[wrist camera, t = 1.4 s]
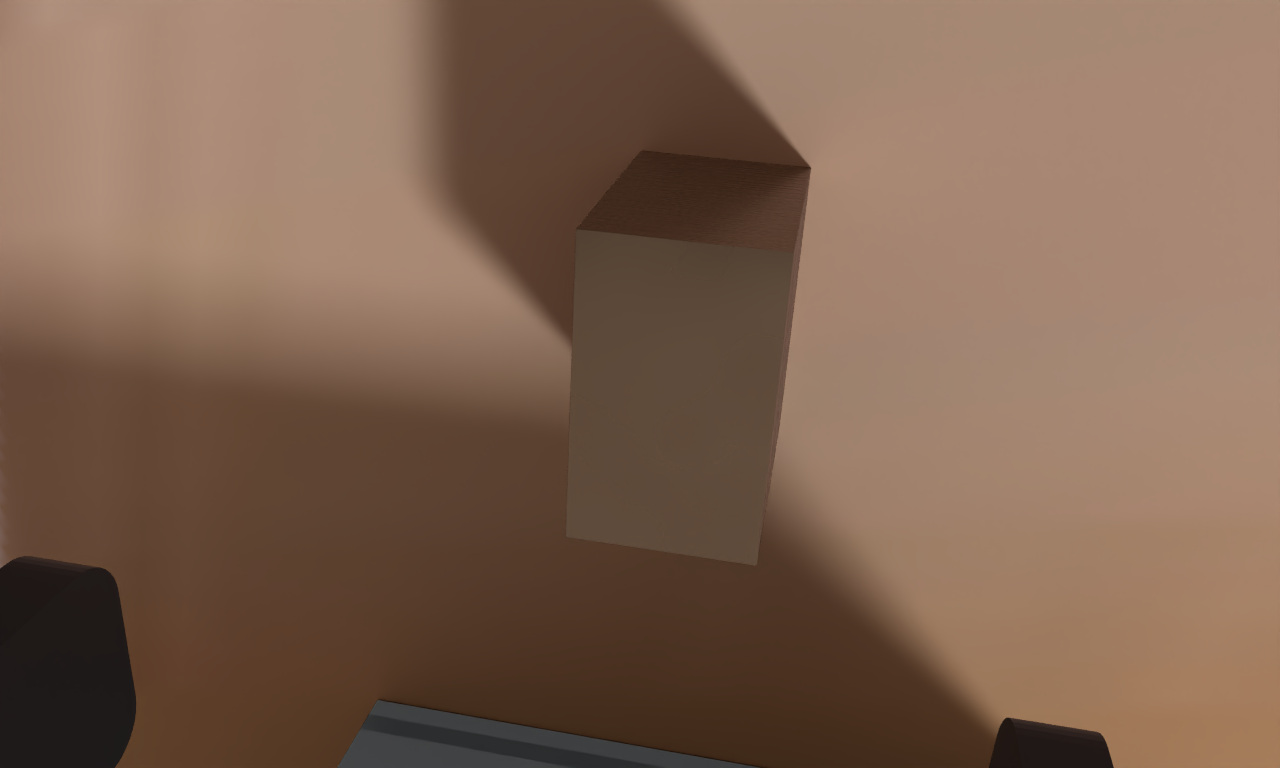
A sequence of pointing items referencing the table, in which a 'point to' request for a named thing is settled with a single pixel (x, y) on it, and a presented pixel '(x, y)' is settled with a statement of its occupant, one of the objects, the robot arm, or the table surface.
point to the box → (492, 745)
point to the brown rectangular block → (682, 353)
